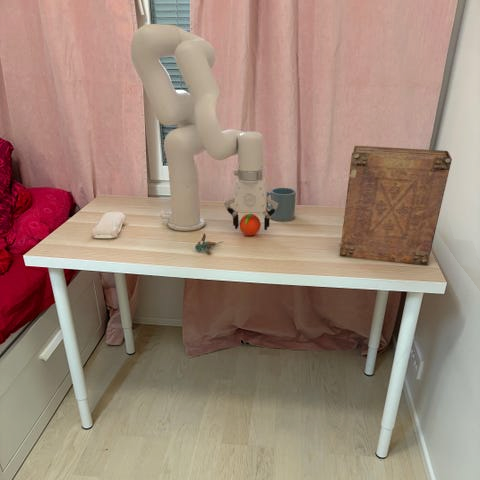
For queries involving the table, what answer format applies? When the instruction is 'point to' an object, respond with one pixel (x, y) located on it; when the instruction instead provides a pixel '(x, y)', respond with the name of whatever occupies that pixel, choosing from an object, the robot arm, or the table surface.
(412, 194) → the book
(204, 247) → the dragon figurine
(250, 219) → the clementine
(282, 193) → the blue mug
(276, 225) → the table surface
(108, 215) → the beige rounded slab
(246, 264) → the table surface
